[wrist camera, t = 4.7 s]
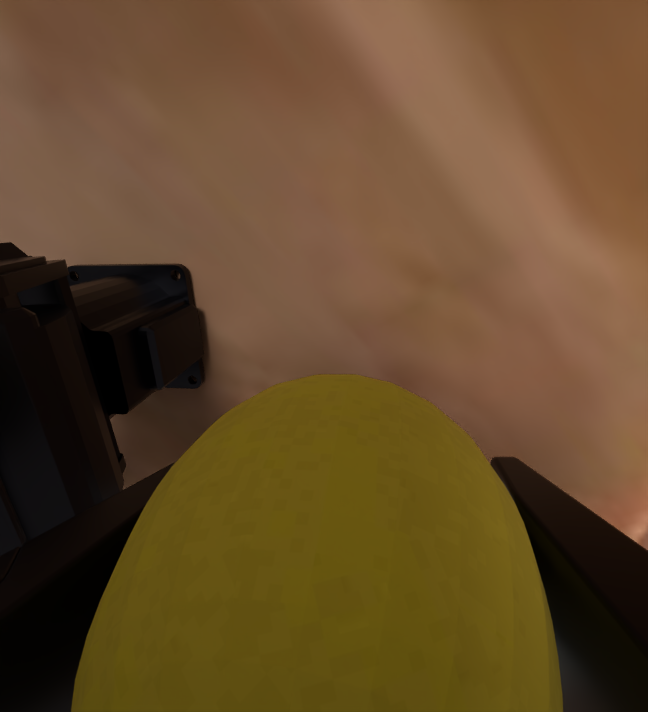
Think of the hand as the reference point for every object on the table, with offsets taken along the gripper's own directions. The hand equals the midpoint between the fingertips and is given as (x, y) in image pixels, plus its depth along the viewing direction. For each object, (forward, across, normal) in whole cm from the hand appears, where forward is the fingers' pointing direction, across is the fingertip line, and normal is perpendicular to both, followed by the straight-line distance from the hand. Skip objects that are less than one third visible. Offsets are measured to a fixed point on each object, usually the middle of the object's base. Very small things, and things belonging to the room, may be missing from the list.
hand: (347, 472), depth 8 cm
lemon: (+2, 0, 0) cm, 2 cm away
